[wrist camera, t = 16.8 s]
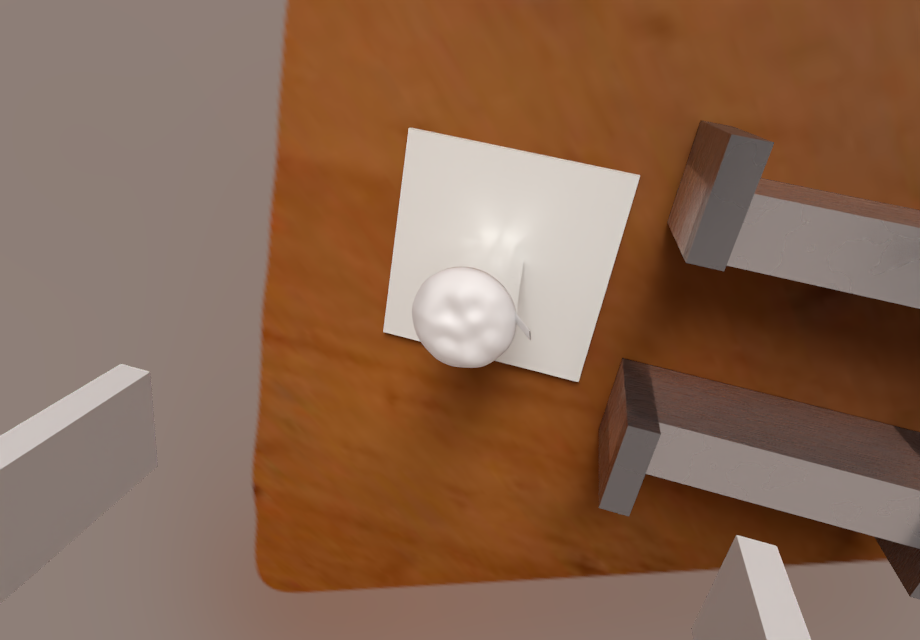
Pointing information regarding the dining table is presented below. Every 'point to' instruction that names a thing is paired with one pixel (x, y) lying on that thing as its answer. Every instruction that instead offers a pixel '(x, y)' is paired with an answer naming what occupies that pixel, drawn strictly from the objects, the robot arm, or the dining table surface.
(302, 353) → the dining table surface
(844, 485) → the brackets
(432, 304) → the milkshake
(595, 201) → the pad
